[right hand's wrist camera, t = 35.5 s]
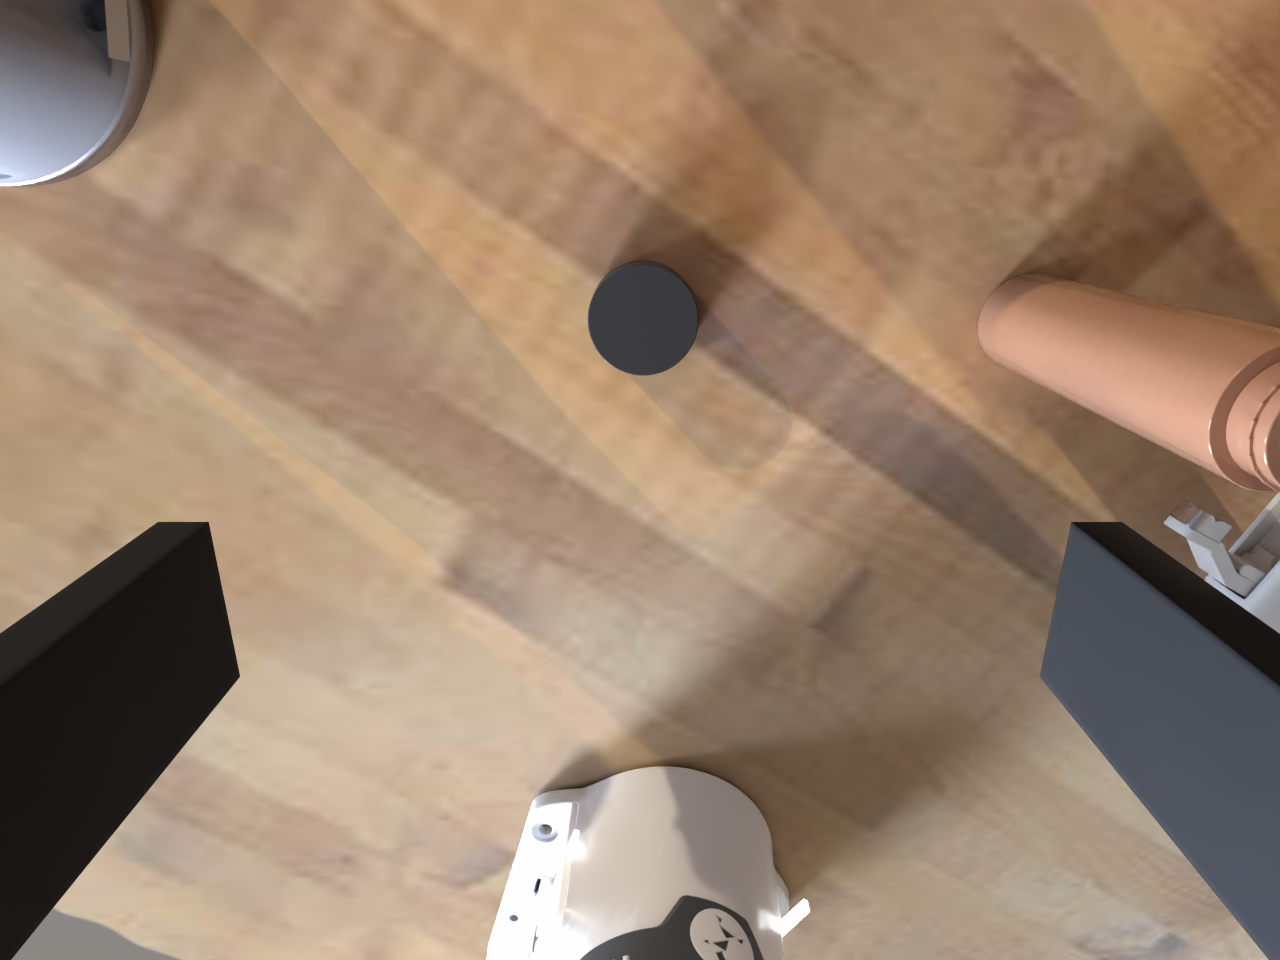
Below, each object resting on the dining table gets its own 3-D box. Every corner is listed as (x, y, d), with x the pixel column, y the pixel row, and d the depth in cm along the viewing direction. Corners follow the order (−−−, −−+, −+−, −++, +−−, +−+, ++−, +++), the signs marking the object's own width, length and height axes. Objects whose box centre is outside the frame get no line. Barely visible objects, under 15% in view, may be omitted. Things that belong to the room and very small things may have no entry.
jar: (1064, 368, 42) (1395, 513, 24) (971, 368, 42) (1229, 514, 24) (1081, 272, 40) (1451, 348, 22) (984, 273, 40) (1273, 349, 22)
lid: (685, 250, 40) (687, 253, 38) (704, 356, 42) (706, 363, 40) (579, 272, 40) (576, 276, 38) (602, 376, 42) (600, 384, 40)
